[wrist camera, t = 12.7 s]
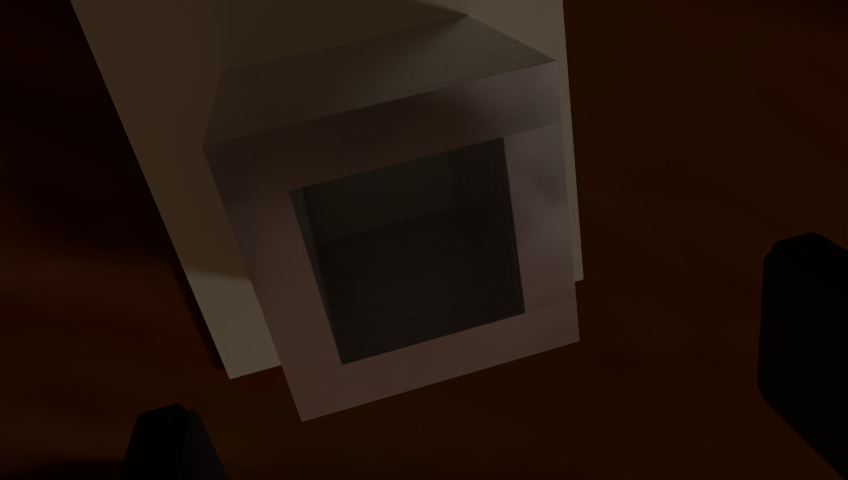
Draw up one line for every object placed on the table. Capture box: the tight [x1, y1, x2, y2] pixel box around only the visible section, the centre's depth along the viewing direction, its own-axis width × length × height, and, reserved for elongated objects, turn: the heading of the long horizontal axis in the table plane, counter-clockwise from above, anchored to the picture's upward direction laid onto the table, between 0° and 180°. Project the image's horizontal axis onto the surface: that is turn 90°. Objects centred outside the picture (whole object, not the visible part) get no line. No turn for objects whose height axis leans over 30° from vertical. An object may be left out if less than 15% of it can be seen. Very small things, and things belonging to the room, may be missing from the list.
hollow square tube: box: [202, 15, 579, 422], centre depth 16 cm, size 7×7×6 cm
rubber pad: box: [70, 0, 583, 379], centre depth 19 cm, size 12×12×1 cm
